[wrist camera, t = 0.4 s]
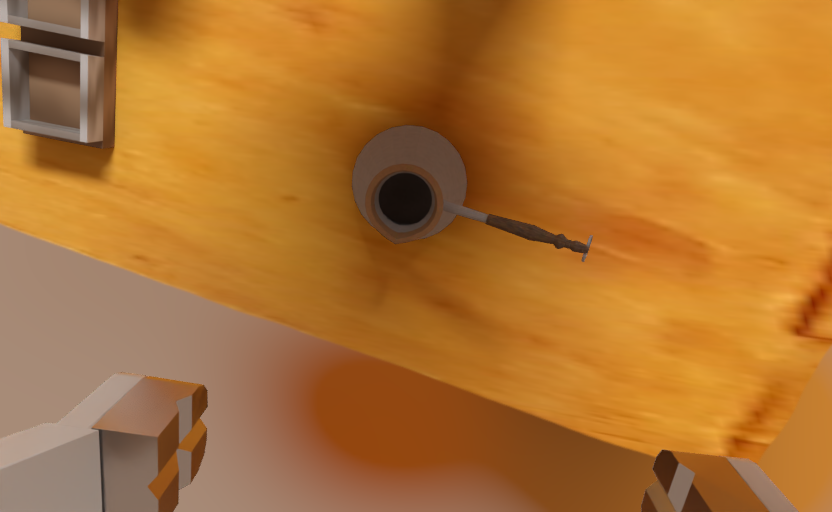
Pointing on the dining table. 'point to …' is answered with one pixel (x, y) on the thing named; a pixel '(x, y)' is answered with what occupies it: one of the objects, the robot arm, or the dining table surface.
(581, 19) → the dining table surface
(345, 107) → the dining table surface
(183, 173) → the dining table surface
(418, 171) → the coffee pot
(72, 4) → the two-compartment tray
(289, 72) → the dining table surface
